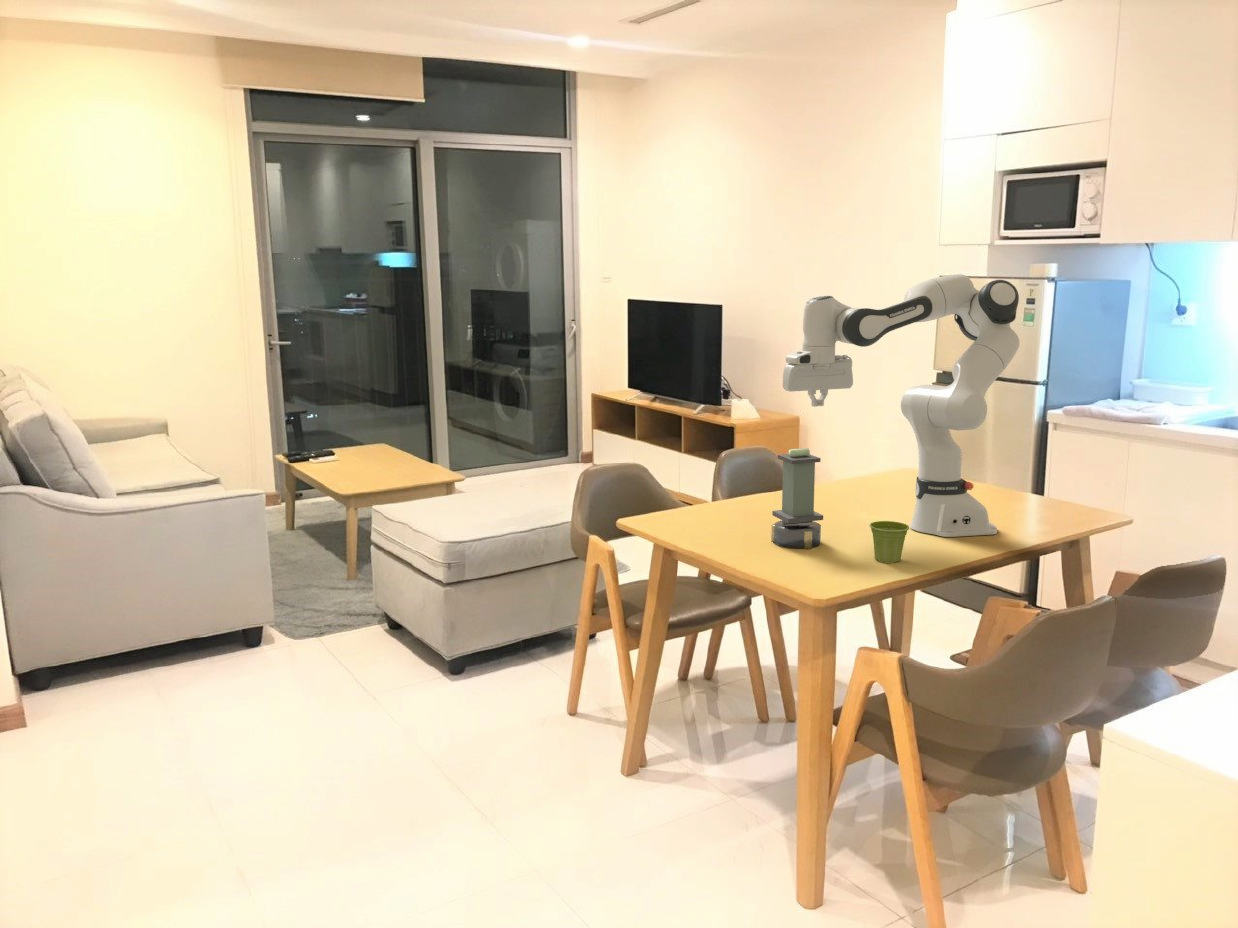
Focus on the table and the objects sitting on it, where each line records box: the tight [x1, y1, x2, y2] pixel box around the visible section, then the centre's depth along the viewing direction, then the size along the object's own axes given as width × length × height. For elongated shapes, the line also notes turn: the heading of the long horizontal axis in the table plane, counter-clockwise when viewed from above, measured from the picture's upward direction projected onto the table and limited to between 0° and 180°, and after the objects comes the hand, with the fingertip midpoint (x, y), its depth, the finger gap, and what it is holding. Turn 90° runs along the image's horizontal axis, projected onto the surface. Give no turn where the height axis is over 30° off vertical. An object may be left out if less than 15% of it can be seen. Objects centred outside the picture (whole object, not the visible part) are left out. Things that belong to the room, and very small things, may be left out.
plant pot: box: [869, 520, 910, 564], centre depth 242 cm, size 9×9×9 cm
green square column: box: [771, 447, 824, 525], centre depth 257 cm, size 10×9×20 cm
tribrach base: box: [770, 520, 822, 550], centre depth 259 cm, size 12×13×5 cm
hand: (817, 406), depth 275 cm, fingers closed
